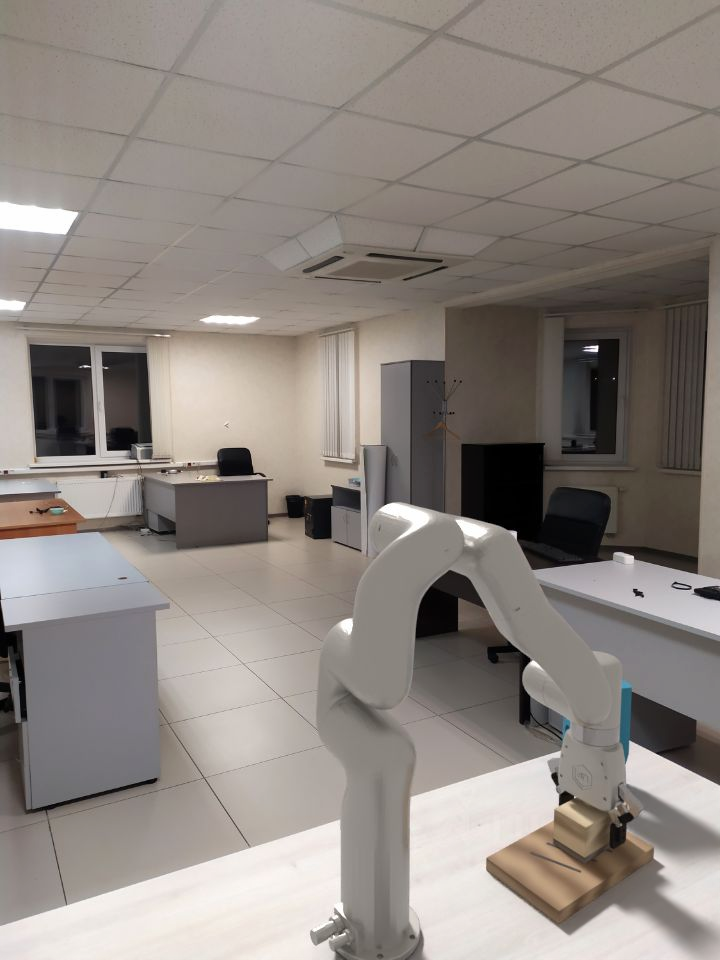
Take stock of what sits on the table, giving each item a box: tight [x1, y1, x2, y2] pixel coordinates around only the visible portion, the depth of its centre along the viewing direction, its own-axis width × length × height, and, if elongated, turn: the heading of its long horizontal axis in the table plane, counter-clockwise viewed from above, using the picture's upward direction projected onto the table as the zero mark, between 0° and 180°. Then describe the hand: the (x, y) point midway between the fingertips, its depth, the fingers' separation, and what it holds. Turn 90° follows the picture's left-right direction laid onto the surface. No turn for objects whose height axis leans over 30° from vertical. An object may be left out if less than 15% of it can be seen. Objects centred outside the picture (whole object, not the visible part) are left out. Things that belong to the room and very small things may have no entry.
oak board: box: [485, 820, 655, 925], centre depth 109 cm, size 24×14×2 cm, turn 126°
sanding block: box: [553, 797, 628, 864], centre depth 111 cm, size 11×6×6 cm, turn 126°
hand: (590, 829), depth 111 cm, fingers open, 9 cm apart
